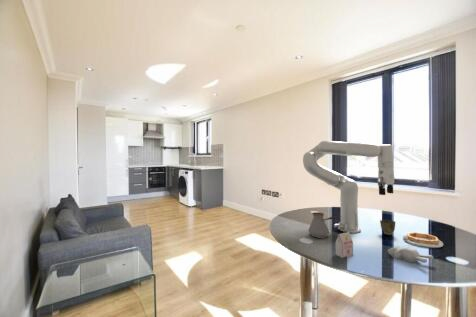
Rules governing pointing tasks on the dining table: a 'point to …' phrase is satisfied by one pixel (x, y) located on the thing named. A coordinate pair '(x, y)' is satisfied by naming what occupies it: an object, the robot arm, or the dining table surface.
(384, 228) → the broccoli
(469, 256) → the dining table surface
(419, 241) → the rosette plate
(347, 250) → the milk carton
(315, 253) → the dining table surface
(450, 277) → the dining table surface
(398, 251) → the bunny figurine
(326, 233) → the coffee pot
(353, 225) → the robot arm
